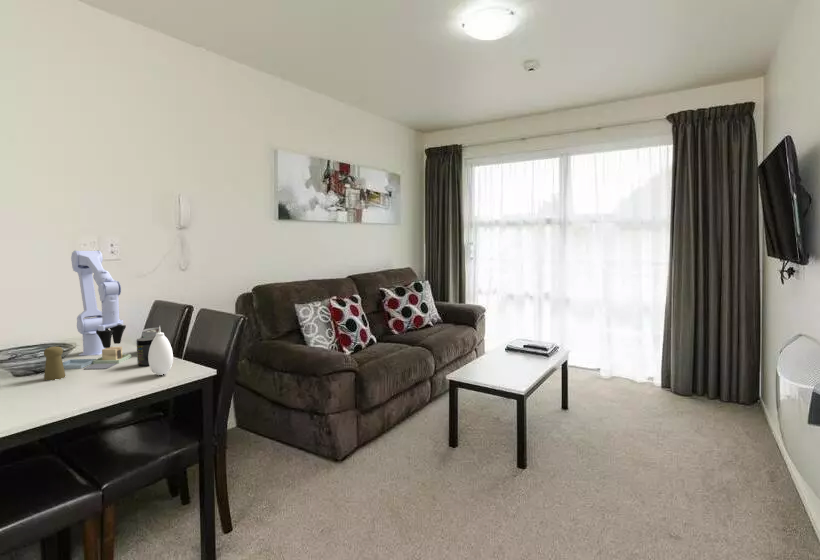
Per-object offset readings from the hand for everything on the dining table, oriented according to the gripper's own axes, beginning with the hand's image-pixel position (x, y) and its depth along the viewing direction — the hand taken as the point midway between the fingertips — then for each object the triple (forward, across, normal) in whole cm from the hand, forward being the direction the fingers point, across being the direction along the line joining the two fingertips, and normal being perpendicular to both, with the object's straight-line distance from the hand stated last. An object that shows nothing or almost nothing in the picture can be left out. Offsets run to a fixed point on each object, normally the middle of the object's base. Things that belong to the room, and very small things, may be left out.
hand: (112, 345), depth 181 cm
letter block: (+6, 0, 0) cm, 6 cm away
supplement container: (+7, -7, -16) cm, 19 cm away
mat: (+6, -9, 0) cm, 11 cm away
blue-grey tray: (+6, -6, +10) cm, 14 cm away
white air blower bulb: (+7, -21, -27) cm, 35 cm away
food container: (+7, +14, -8) cm, 17 cm away
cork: (+7, -22, +8) cm, 25 cm away
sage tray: (+6, 0, 0) cm, 6 cm away
